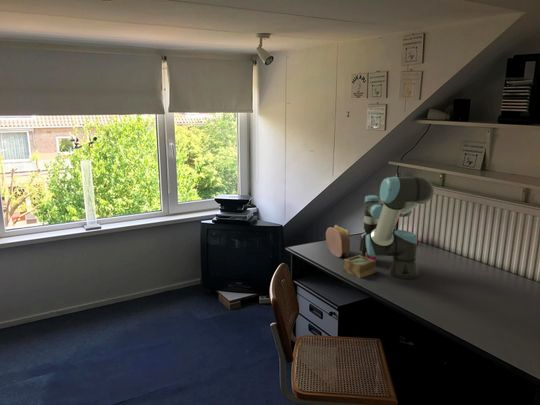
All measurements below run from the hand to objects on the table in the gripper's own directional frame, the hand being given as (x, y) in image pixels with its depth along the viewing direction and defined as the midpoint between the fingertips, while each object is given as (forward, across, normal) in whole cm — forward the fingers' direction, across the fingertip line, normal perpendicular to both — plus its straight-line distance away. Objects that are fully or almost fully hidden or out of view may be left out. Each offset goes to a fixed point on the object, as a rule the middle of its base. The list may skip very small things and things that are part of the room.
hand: (369, 260), depth 256 cm
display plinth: (0, +17, +8) cm, 19 cm away
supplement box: (0, 0, 0) cm, 0 cm away
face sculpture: (+1, +6, -20) cm, 21 cm away
